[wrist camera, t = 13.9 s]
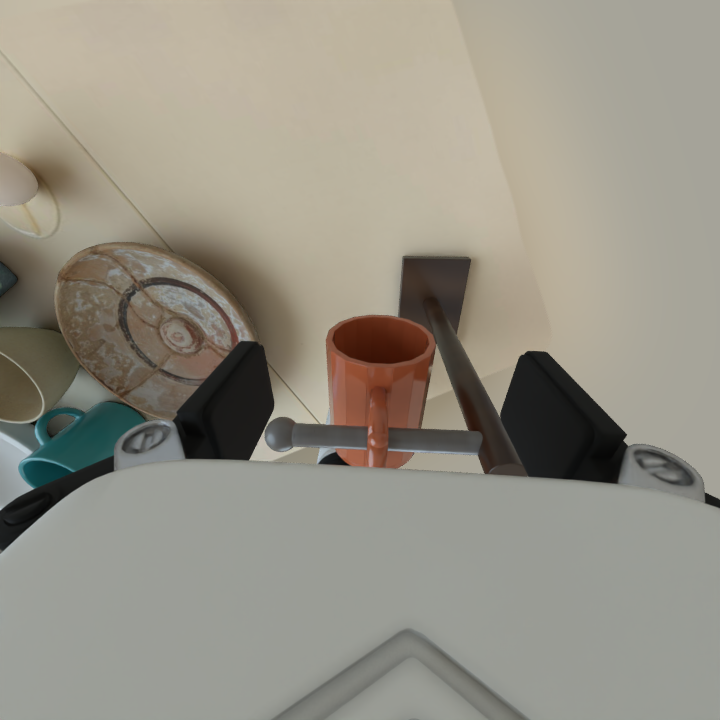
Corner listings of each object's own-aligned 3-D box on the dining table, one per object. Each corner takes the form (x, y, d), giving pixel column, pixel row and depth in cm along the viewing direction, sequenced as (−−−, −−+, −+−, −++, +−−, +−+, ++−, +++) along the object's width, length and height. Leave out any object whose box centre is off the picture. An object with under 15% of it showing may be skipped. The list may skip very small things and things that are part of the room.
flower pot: (122, 367, 41) (66, 406, 34) (67, 393, 44) (5, 434, 37) (46, 292, 36) (-39, 319, 29) (-9, 327, 39) (-100, 360, 32)
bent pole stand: (325, 254, 32) (227, 376, 11) (468, 257, 31) (642, 391, 11) (330, 336, 37) (268, 524, 16) (452, 340, 36) (549, 541, 16)
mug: (337, 405, 26) (334, 313, 21) (413, 409, 26) (427, 316, 21) (315, 525, 17) (300, 414, 12) (429, 533, 17) (461, 423, 12)
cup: (105, 377, 42) (25, 433, 33) (163, 433, 48) (108, 496, 38) (64, 395, 45) (-22, 452, 35) (124, 447, 50) (63, 509, 40)
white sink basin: (-4, 357, 42) (-65, 384, 36) (127, 463, 52) (96, 496, 47) (-86, 408, 48) (-148, 438, 42) (45, 493, 59) (10, 526, 53)
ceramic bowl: (201, 200, 30) (171, 202, 26) (303, 379, 41) (294, 402, 36) (46, 278, 35) (0, 290, 31) (173, 418, 46) (152, 442, 42)
